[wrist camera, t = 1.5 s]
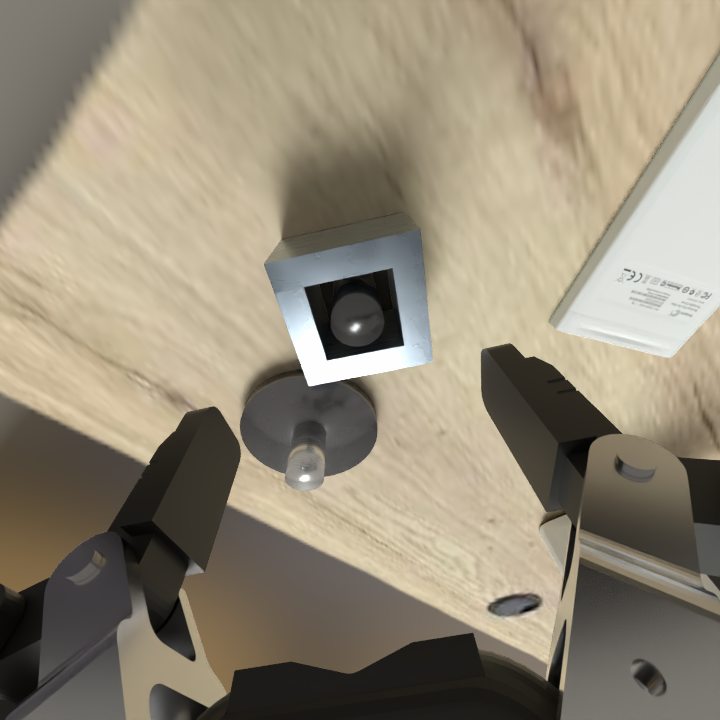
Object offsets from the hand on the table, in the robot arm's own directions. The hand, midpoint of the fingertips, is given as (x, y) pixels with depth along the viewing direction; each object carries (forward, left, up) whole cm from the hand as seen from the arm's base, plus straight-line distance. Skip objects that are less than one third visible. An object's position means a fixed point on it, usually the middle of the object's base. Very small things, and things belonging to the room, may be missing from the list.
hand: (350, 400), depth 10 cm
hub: (+5, +9, -9) cm, 13 cm away
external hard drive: (-17, +1, -10) cm, 20 cm away
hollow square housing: (0, 0, -9) cm, 9 cm away
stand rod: (0, 0, -9) cm, 9 cm away
